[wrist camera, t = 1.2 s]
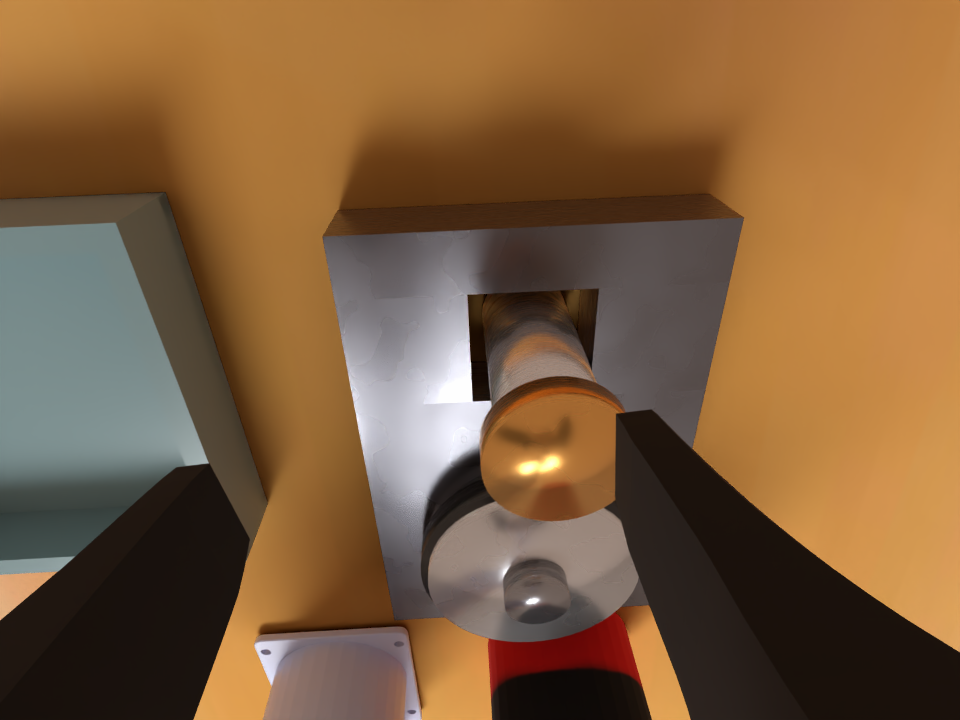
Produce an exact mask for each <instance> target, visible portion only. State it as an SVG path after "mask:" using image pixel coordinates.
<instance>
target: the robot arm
mask: <svg viewBox="0 0 960 720" xmlns="http://www.w3.org/2000/svg"><path fill="white" fill-rule="evenodd" d="M615 499H616V503H617V507H618V511H619V515H620V519H621V523H622V527H623V530H624V534H625V538H626V542H627V546H628V549H629V552H630V555H631V558H632V560H633V563H634V566H635V568H636V571H637V574H638V576H639V579H640V582H641V584H642V587H643V590H644V592H645V595H646V598H647V600H648V603H649V605H650V608H651V611H652V613H653V616H654V618H655V621H656V624H657V626H658V629H659V631H660V634H661V637H662V639H663V642H664V645H665V647H666V650H667V652H668V655H669V658H670V660H671V663H672V665H673V668H674V671H675V673H676V676H677V679H678V682H679V684H680V687H681V690H682V693H683V696H684V699H685V702H686V705H687V708H688V711H689V715H690V718H691V720H960V652H958V651H957V650H955V649H953V648H952V647H950V646H948V645H947V644H945V643H944V642H942V641H940V640H939V639H937V638H936V637H934V636H932V635H931V634H929V633H928V632H926V631H924V630H923V629H921V628H919V627H918V626H916V625H915V624H913V623H911V622H910V621H908V620H907V619H905V618H904V617H902V616H901V615H899V614H898V613H896V612H895V611H893V610H892V609H890V608H889V607H887V606H886V605H884V604H883V603H881V602H880V601H878V600H877V599H875V598H874V597H872V596H871V595H869V594H868V593H867V592H865V591H864V590H862V589H861V588H860V587H858V586H857V585H855V584H854V583H853V582H851V581H850V580H848V579H847V578H846V577H844V576H843V575H841V574H840V573H839V572H837V571H836V570H834V569H833V568H832V567H830V566H829V565H828V564H826V563H825V562H824V561H822V560H821V559H820V558H818V557H817V556H816V555H814V554H813V553H812V552H811V551H809V550H808V549H807V548H805V547H804V546H803V545H801V544H800V543H799V542H798V541H796V540H795V539H794V538H793V537H791V536H790V535H789V534H788V533H787V532H785V531H784V530H783V529H782V528H780V527H779V526H778V525H777V524H775V523H774V522H773V521H772V520H770V519H769V518H768V517H767V516H766V515H765V514H763V513H762V512H761V511H760V510H759V509H757V508H756V507H755V506H754V505H753V504H752V503H750V502H749V501H748V500H747V499H746V498H745V497H744V496H743V495H741V494H740V493H739V492H738V491H737V490H736V489H735V488H734V487H733V486H731V485H730V484H729V483H728V482H727V481H726V480H725V479H724V478H722V477H721V476H720V475H719V474H718V473H717V472H716V471H715V470H714V469H713V468H712V467H711V466H710V465H708V464H707V463H706V462H705V461H704V460H703V459H702V458H701V457H700V456H699V455H698V454H697V453H696V452H695V451H694V450H693V449H692V448H691V447H690V446H689V445H688V444H687V443H686V442H685V441H684V440H683V439H682V438H681V437H680V436H679V435H678V434H677V433H676V432H675V431H674V430H673V429H672V428H671V427H670V426H669V425H668V424H667V423H666V422H665V421H664V420H663V419H662V418H661V417H660V416H659V415H658V414H657V413H656V412H654V411H653V410H652V409H649V410H641V411H633V412H625V413H616V450H615ZM249 542H250V538H249V536H248V534H247V532H246V531H245V529H244V527H243V525H242V523H241V521H240V519H239V517H238V516H237V514H236V512H235V510H234V508H233V506H232V504H231V502H230V501H229V499H228V497H227V495H226V493H225V491H224V489H223V487H222V486H221V484H220V482H219V480H218V478H217V476H216V474H215V473H214V471H213V469H212V467H211V465H210V463H207V464H198V465H190V466H182V467H176V468H175V469H173V470H172V471H171V472H170V473H168V474H167V475H166V476H165V477H163V478H162V479H161V480H160V481H159V482H158V483H156V484H155V485H154V486H153V487H152V488H151V489H150V490H148V491H147V492H146V493H145V494H144V495H143V496H142V497H141V498H139V499H138V500H137V501H136V502H135V503H134V504H133V505H132V506H130V507H129V508H128V509H127V510H126V511H125V512H124V513H123V514H122V515H121V516H119V517H118V518H117V519H116V520H115V521H114V522H113V523H112V524H111V525H110V526H108V527H107V528H106V529H105V530H104V531H103V532H102V533H101V534H100V535H98V536H97V537H96V538H95V539H94V540H93V541H92V542H91V543H90V544H88V545H87V546H86V547H85V548H84V549H83V550H82V551H81V552H79V553H78V554H77V555H76V556H75V557H74V558H73V559H72V560H71V561H69V562H68V563H67V564H66V565H65V566H64V567H63V568H62V569H60V570H59V571H58V572H57V573H56V574H55V575H53V576H52V577H51V578H50V579H49V580H48V581H46V582H45V583H44V584H43V585H42V586H40V587H39V588H38V589H37V590H36V591H35V592H33V593H32V594H31V595H30V596H29V597H28V598H26V599H25V600H24V601H23V602H22V603H20V604H19V605H18V606H17V607H16V608H15V609H13V610H12V611H11V612H10V613H9V614H7V615H6V616H5V617H4V618H3V619H2V620H0V720H193V719H194V716H195V714H196V711H197V708H198V705H199V703H200V700H201V697H202V694H203V692H204V689H205V686H206V683H207V681H208V678H209V675H210V672H211V670H212V667H213V664H214V661H215V659H216V656H217V653H218V650H219V648H220V645H221V642H222V639H223V637H224V634H225V631H226V628H227V625H228V622H229V620H230V617H231V614H232V611H233V608H234V605H235V602H236V599H237V596H238V593H239V589H240V585H241V580H242V576H243V572H244V567H245V562H246V557H247V552H248V547H249ZM254 647H255V649H256V651H257V654H258V656H259V658H260V661H261V663H262V665H263V668H264V670H265V672H266V674H267V677H268V679H269V681H270V684H271V686H272V687H271V691H270V695H269V698H268V702H267V706H266V709H265V713H264V717H263V720H421V719H422V712H421V706H420V700H419V694H418V688H417V682H416V676H415V671H414V665H413V659H412V653H411V647H410V641H409V635H408V631H407V629H405V628H404V627H398V626H397V627H380V628H364V629H347V630H330V631H313V632H296V633H280V634H264V635H260V636H258V637H257V638H256V640H255V643H254Z"/></svg>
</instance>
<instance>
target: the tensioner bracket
mask: <svg viewBox="0 0 960 720" xmlns="http://www.w3.org/2000/svg"><path fill="white" fill-rule="evenodd" d="M743 219H744V217H742V216H741V215H739V214H738V213H736V212H735V211H733V210H732V209H731V208H729V207H728V206H726V205H725V204H723V203H722V202H720V201H719V200H717V199H716V198H715V197H713V196H712V195H710V194H695V195H673V196H650V197H627V198H604V199H582V200H559V201H536V202H514V203H491V204H468V205H446V206H423V207H400V208H378V209H355V210H338V211H337V213H336V214H335V216H334V218H333V219H332V221H331V223H330V225H329V226H328V228H327V230H326V231H325V233H324V235H323V242H324V248H325V253H326V258H327V264H328V269H329V274H330V280H331V285H332V290H333V295H334V301H335V306H336V311H337V317H338V322H339V327H340V333H341V338H342V343H343V349H344V354H345V359H346V365H347V370H348V375H349V380H350V386H351V391H352V396H353V402H354V407H355V412H356V418H357V423H358V428H359V434H360V439H361V444H362V449H363V455H364V460H365V465H366V471H367V476H368V481H369V487H370V492H371V497H372V503H373V508H374V513H375V519H376V524H377V529H378V534H379V540H380V545H381V550H382V556H383V561H384V566H385V572H386V577H387V582H388V588H389V593H390V598H391V604H392V609H393V614H394V619H395V620H407V619H424V618H440V617H446V618H447V619H448V620H450V621H451V622H452V623H453V624H455V625H457V626H458V627H460V628H462V629H464V630H466V631H468V632H471V633H473V634H476V635H479V636H482V637H486V638H490V639H495V640H501V641H510V642H535V641H545V640H551V639H557V638H561V637H565V636H569V635H572V634H575V633H578V632H581V631H583V630H585V629H588V628H590V627H592V626H594V625H596V624H598V623H599V622H601V621H603V620H604V619H606V618H607V617H609V616H610V615H612V614H613V613H614V612H615V611H617V610H618V609H619V608H620V607H626V606H643V605H649V603H648V600H647V598H646V595H645V592H644V590H643V587H642V584H641V582H640V579H639V576H638V574H637V571H636V568H635V566H634V563H633V560H632V558H631V555H630V552H629V549H628V546H627V542H626V538H625V534H624V530H623V527H622V523H621V519H620V515H619V511H618V507H617V503H616V500H614V501H613V502H612V503H610V504H609V505H607V506H606V507H604V508H602V509H600V510H598V511H596V512H594V513H591V514H589V515H586V516H583V517H579V518H576V519H570V520H564V521H539V520H533V519H528V518H525V517H521V516H519V515H516V514H514V513H512V512H510V511H508V510H506V509H505V508H503V507H502V506H500V505H499V504H498V503H497V502H496V501H495V500H494V499H493V498H492V497H491V495H490V494H489V493H488V491H487V489H486V487H485V485H484V482H483V479H482V474H481V462H480V447H479V436H480V430H481V426H482V424H483V421H484V419H485V417H486V415H487V414H488V412H489V411H490V409H491V408H492V407H491V398H490V388H489V378H488V368H487V362H474V363H471V359H470V338H469V317H468V296H467V295H471V294H492V293H513V292H534V291H555V290H576V289H580V301H579V315H578V330H577V334H578V337H579V339H580V342H581V344H582V347H583V349H584V352H585V354H586V357H587V359H588V362H589V364H590V367H591V370H592V372H593V375H594V377H595V380H596V382H597V384H599V385H601V386H603V387H605V388H606V389H608V390H609V391H610V392H612V393H613V394H614V395H615V396H616V397H617V398H618V399H619V401H620V402H621V404H622V405H623V407H624V409H625V411H626V412H633V411H641V410H649V409H652V410H653V411H654V412H656V413H657V414H658V415H659V416H660V417H661V418H662V419H663V420H664V421H665V422H666V423H667V424H668V425H669V426H670V427H671V428H672V429H673V430H674V431H675V432H676V433H677V434H678V435H679V436H680V437H681V438H682V439H683V440H684V441H685V442H686V443H687V444H688V445H689V446H690V447H691V448H692V447H693V443H694V438H695V434H696V429H697V425H698V420H699V416H700V411H701V407H702V402H703V398H704V394H705V389H706V385H707V380H708V376H709V371H710V367H711V362H712V358H713V353H714V349H715V344H716V340H717V335H718V331H719V327H720V322H721V318H722V313H723V309H724V304H725V300H726V295H727V291H728V286H729V282H730V277H731V273H732V268H733V264H734V260H735V255H736V251H737V246H738V242H739V237H740V233H741V228H742V224H743Z"/></svg>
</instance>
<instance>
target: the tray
mask: <svg viewBox="0 0 960 720" xmlns="http://www.w3.org/2000/svg"><path fill="white" fill-rule="evenodd" d="M207 463H210V465H211V467H212V469H213V471H214V473H215V474H216V476H217V478H218V480H219V482H220V484H221V486H222V487H223V489H224V491H225V493H226V495H227V497H228V499H229V501H230V502H231V504H232V506H233V508H234V510H235V512H236V514H237V516H238V517H239V519H240V521H241V523H242V525H243V527H244V529H245V531H246V532H247V534H248V536H249V538H250V542H249V547H248V552H247V557H246V561H247V558H248V555H249V553H250V550H251V547H252V545H253V542H254V539H255V537H256V534H257V531H258V529H259V526H260V523H261V521H262V518H263V515H264V513H265V510H266V507H267V505H268V503H267V500H266V497H265V493H264V490H263V487H262V484H261V481H260V478H259V475H258V472H257V469H256V466H255V463H254V460H253V457H252V454H251V451H250V448H249V445H248V442H247V439H246V436H245V433H244V430H243V427H242V424H241V421H240V417H239V414H238V411H237V408H236V405H235V402H234V399H233V396H232V393H231V390H230V387H229V384H228V381H227V378H226V375H225V372H224V369H223V366H222V363H221V360H220V357H219V354H218V351H217V348H216V345H215V341H214V338H213V335H212V332H211V329H210V326H209V323H208V320H207V317H206V314H205V311H204V308H203V305H202V302H201V299H200V296H199V293H198V290H197V287H196V284H195V281H194V278H193V275H192V272H191V269H190V265H189V262H188V259H187V256H186V253H185V250H184V247H183V244H182V241H181V238H180V235H179V232H178V229H177V226H176V223H175V220H174V217H173V214H172V211H171V208H170V205H169V202H168V199H167V196H166V193H165V192H157V193H134V194H110V195H87V196H64V197H41V198H18V199H0V575H3V574H20V573H38V572H55V571H59V570H60V569H62V568H63V567H64V566H65V565H66V564H67V563H68V562H69V561H71V560H72V559H73V558H74V557H75V556H76V555H77V554H78V553H79V552H81V551H82V550H83V549H84V548H85V547H86V546H87V545H88V544H90V543H91V542H92V541H93V540H94V539H95V538H96V537H97V536H98V535H100V534H101V533H102V532H103V531H104V530H105V529H106V528H107V527H108V526H110V525H111V524H112V523H113V522H114V521H115V520H116V519H117V518H118V517H119V516H121V515H122V514H123V513H124V512H125V511H126V510H127V509H128V508H129V507H130V506H132V505H133V504H134V503H135V502H136V501H137V500H138V499H139V498H141V497H142V496H143V495H144V494H145V493H146V492H147V491H148V490H150V489H151V488H152V487H153V486H154V485H155V484H156V483H158V482H159V481H160V480H161V479H162V478H163V477H165V476H166V475H167V474H168V473H170V472H171V471H172V470H173V469H175V468H176V467H182V466H190V465H198V464H207Z"/></svg>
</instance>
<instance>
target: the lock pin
mask: <svg viewBox="0 0 960 720" xmlns="http://www.w3.org/2000/svg"><path fill="white" fill-rule="evenodd" d="M482 319H483V329H484V339H485V349H486V358H487V368H488V378H489V388H490V398H491V407H492V408H491V409H490V411H489V412H488V414H487V415H486V417H485V419H484V421H483V424H482V426H481V430H480V436H479V447H480V462H481V474H482V479H483V482H484V485H485V487H486V489H487V491H488V493H489V494H490V495H491V497H492V498H493V499H494V500H495V501H496V502H497V503H498V504H499V505H500V506H502V507H503V508H505V509H506V510H508V511H510V512H512V513H514V514H516V515H519V516H521V517H525V518H528V519H533V520H539V521H564V520H570V519H576V518H579V517H583V516H586V515H589V514H591V513H594V512H596V511H598V510H600V509H602V508H604V507H606V506H607V505H609V504H610V503H612V502H613V501H614V500H616V499H615V450H616V413H625V412H626V411H625V409H624V407H623V405H622V404H621V402H620V401H619V399H618V398H617V397H616V396H615V395H614V394H613V393H612V392H610V391H609V390H608V389H606V388H605V387H603V386H601V385H599V384H597V382H596V380H595V377H594V375H593V372H592V370H591V367H590V364H589V362H588V359H587V357H586V354H585V352H584V349H583V347H582V344H581V342H580V339H579V337H578V334H577V332H576V329H575V327H574V324H573V321H572V319H571V316H570V314H569V311H568V309H567V306H566V304H565V301H564V299H563V296H562V294H561V292H560V291H559V290H555V291H534V292H513V293H492V294H488V295H487V297H486V299H485V301H484V304H483V308H482Z"/></svg>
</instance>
